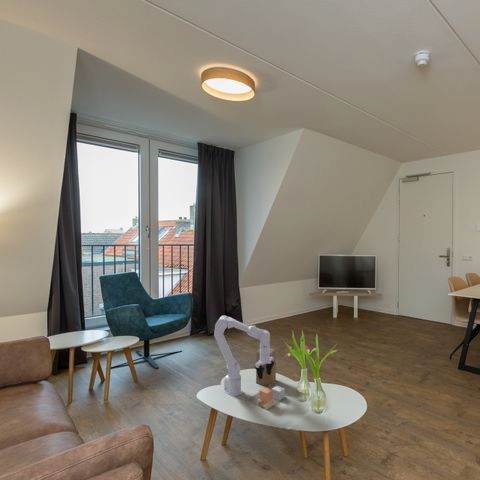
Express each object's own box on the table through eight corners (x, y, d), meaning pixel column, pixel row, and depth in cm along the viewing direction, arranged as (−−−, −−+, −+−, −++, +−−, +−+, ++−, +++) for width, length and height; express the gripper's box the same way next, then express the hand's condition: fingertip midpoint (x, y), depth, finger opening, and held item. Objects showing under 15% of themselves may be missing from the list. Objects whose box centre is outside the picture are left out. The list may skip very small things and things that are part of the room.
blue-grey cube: (271, 397, 179) (271, 388, 179) (277, 394, 182) (277, 385, 182) (279, 400, 175) (279, 391, 175) (284, 397, 179) (284, 388, 179)
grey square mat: (245, 400, 176) (245, 399, 176) (265, 389, 189) (265, 388, 189) (268, 411, 165) (268, 410, 165) (288, 398, 178) (288, 397, 178)
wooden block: (255, 384, 196) (255, 351, 195) (260, 377, 205) (261, 346, 205) (271, 387, 192) (271, 353, 192) (276, 380, 201) (276, 348, 201)
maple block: (257, 405, 170) (258, 399, 170) (264, 400, 175) (264, 395, 175) (266, 409, 166) (266, 403, 166) (273, 404, 171) (273, 399, 171)
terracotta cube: (259, 399, 170) (259, 390, 170) (265, 396, 174) (265, 387, 174) (266, 403, 167) (267, 393, 167) (272, 399, 171) (272, 390, 171)
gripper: (262, 358, 174) (262, 382, 174) (278, 351, 185) (277, 374, 185) (252, 354, 179) (252, 378, 179) (268, 348, 190) (268, 370, 190)
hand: (264, 376), depth 183 cm, fingers open, 7 cm apart
